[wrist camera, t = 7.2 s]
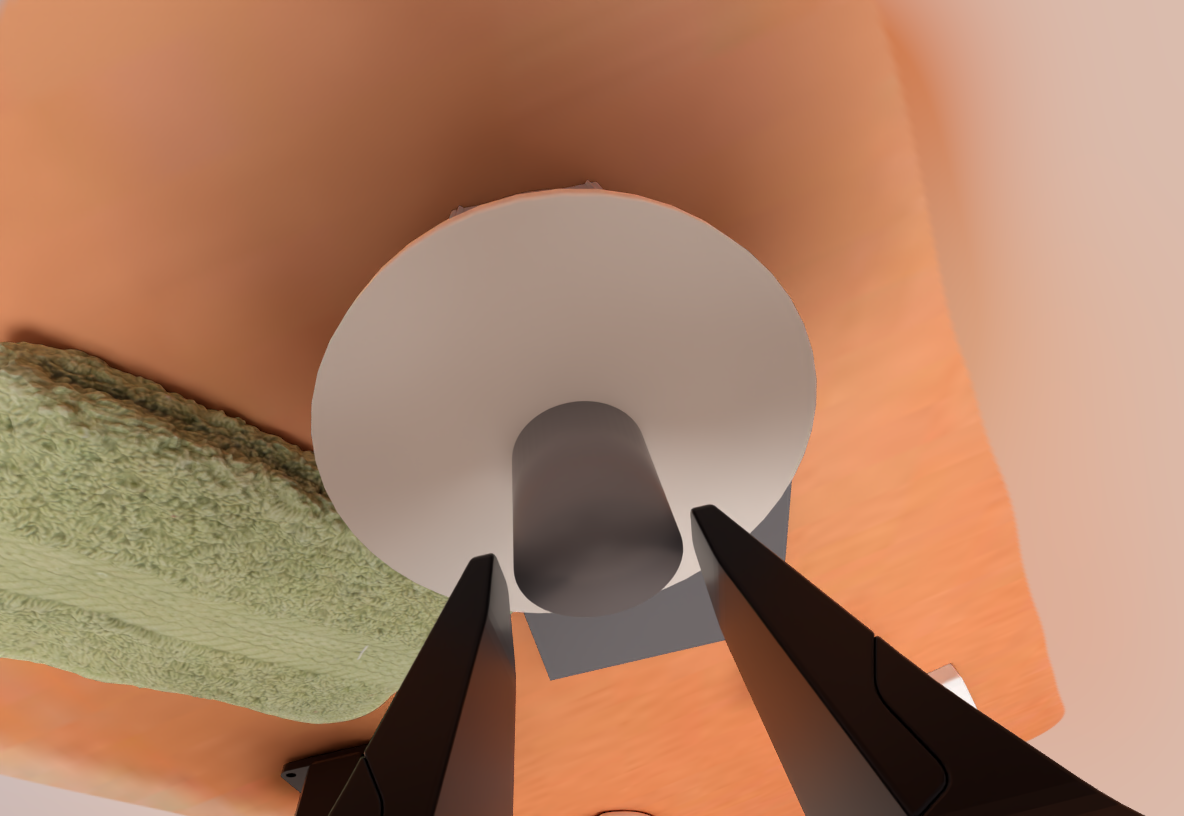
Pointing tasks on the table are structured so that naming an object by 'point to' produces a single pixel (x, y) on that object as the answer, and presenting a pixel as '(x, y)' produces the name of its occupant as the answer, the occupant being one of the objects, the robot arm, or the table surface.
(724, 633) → the robot arm
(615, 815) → the eye dropper bottle
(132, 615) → the washcloth
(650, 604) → the mat
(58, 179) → the table surface
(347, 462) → the lid
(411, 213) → the table surface
